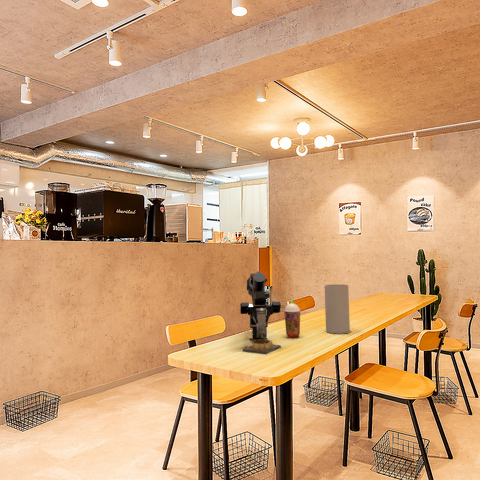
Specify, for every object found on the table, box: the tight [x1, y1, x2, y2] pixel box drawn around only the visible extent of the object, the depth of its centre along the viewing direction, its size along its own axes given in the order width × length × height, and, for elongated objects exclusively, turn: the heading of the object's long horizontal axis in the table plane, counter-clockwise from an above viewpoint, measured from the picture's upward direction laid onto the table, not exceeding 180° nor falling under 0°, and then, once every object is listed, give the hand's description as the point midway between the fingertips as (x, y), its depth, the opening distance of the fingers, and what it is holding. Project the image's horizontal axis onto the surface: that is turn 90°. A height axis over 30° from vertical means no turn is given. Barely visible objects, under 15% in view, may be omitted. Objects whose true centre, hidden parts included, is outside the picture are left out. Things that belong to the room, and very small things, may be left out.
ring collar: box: [242, 339, 282, 355], centre depth 186 cm, size 14×12×4 cm
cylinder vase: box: [324, 284, 351, 335], centre depth 220 cm, size 12×12×25 cm
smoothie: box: [283, 297, 301, 339], centre depth 210 cm, size 8×8×20 cm
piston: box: [256, 307, 268, 338], centre depth 186 cm, size 5×5×13 cm
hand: (261, 322), depth 185 cm, fingers closed on piston, 4 cm apart
